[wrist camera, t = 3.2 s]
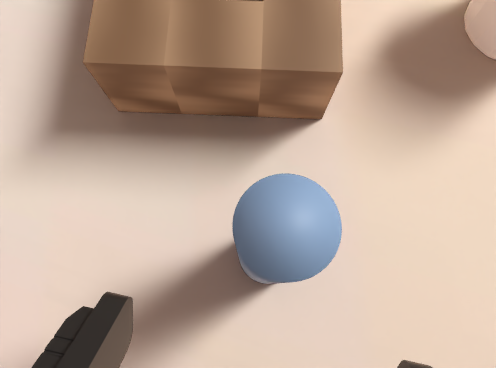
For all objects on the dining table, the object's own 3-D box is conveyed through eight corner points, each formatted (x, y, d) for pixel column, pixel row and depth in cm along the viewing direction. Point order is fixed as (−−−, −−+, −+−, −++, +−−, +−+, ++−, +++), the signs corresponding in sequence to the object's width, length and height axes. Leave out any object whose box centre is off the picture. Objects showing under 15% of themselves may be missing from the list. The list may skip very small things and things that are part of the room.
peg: (295, 227, 20) (340, 175, 11) (295, 284, 19) (343, 284, 10) (240, 225, 20) (235, 171, 11) (237, 282, 20) (229, 280, 10)
